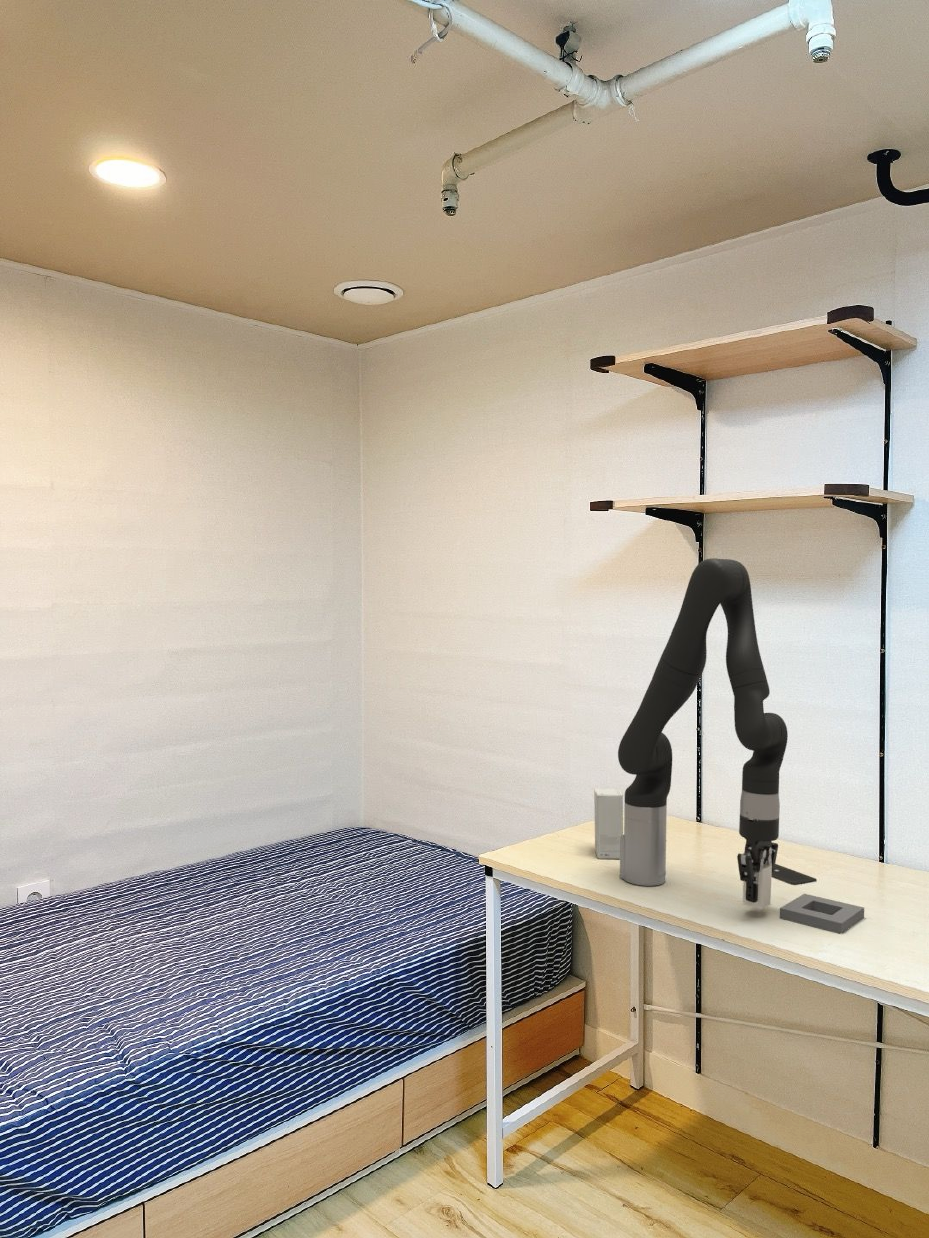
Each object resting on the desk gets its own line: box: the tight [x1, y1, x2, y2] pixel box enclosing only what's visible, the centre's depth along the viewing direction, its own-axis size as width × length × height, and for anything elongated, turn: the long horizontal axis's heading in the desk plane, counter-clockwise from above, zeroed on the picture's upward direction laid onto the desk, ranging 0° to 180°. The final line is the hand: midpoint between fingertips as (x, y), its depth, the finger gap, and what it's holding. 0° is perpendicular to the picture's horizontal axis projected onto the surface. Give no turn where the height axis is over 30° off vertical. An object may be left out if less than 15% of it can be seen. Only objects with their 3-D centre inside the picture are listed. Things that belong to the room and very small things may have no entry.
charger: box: [742, 864, 772, 910], centre depth 181 cm, size 4×4×8 cm
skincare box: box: [593, 788, 624, 860], centre depth 221 cm, size 8×7×16 cm
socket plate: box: [779, 893, 865, 934], centre depth 179 cm, size 12×12×2 cm
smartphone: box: [771, 863, 817, 886], centre depth 208 cm, size 8×15×1 cm, turn 26°
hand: (756, 897), depth 181 cm, fingers closed on charger, 4 cm apart
